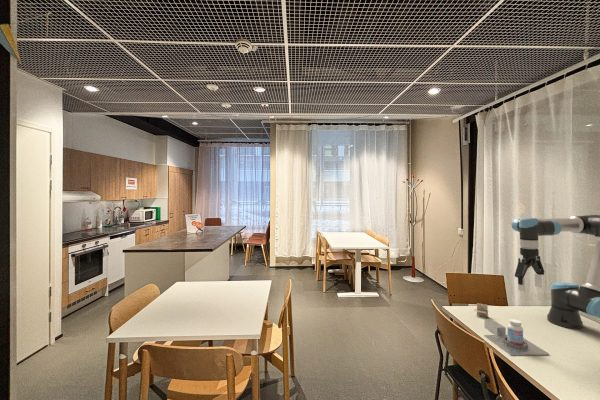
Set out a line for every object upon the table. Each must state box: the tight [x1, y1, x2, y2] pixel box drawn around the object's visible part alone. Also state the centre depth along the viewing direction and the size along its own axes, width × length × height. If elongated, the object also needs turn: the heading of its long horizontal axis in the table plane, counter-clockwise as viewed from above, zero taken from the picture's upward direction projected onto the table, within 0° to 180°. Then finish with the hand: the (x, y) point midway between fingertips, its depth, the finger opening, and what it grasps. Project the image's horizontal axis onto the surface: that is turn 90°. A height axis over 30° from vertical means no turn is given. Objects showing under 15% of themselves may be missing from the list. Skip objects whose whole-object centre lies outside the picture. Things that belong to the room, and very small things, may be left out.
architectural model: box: [473, 302, 489, 319], centre depth 172 cm, size 3×7×7 cm, turn 56°
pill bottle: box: [506, 318, 524, 345], centre depth 138 cm, size 6×6×11 cm
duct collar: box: [483, 318, 550, 356], centre depth 143 cm, size 18×28×4 cm, turn 1°
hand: (530, 288), depth 146 cm, fingers open, 13 cm apart
